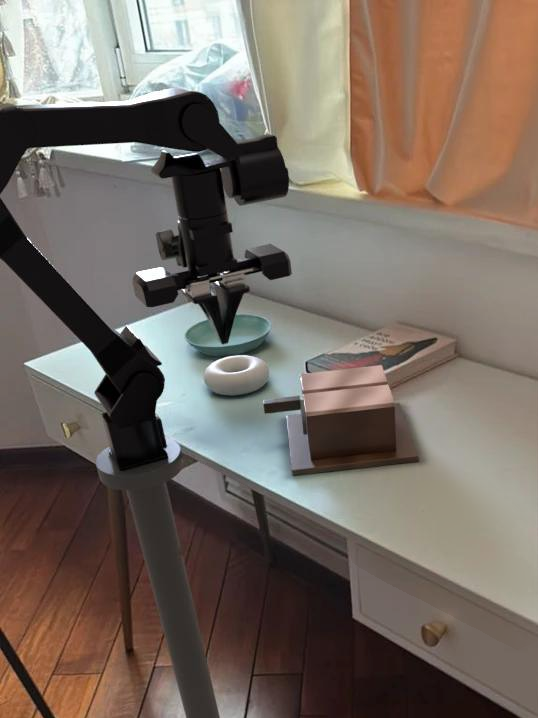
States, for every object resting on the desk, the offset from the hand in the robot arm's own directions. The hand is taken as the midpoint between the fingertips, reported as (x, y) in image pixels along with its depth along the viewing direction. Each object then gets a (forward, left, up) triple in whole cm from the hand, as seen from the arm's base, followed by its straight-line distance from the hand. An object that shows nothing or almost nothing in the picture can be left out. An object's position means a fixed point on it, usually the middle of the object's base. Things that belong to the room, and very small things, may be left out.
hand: (223, 343), depth 109 cm
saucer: (+11, +33, -13) cm, 37 cm away
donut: (+6, +16, -13) cm, 22 cm away
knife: (+10, -9, -12) cm, 17 cm away
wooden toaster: (+12, -10, -13) cm, 20 cm away
